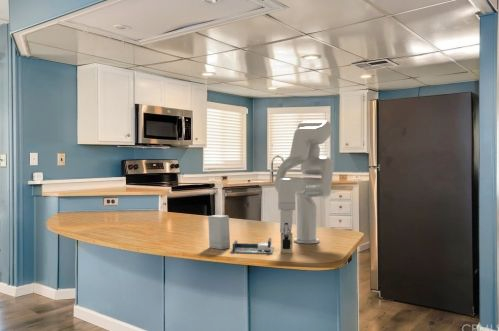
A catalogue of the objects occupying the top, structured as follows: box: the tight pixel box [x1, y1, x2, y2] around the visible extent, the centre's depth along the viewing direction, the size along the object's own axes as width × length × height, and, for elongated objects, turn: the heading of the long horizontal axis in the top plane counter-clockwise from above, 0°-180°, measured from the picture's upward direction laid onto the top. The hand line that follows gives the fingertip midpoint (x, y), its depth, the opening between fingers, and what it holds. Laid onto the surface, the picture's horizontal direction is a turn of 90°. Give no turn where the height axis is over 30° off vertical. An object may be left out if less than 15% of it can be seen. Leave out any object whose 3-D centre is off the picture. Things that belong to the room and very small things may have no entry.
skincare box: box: [207, 214, 231, 250], centre depth 195 cm, size 8×6×15 cm
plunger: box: [257, 237, 272, 252], centre depth 188 cm, size 9×6×4 cm, turn 173°
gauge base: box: [230, 240, 275, 255], centre depth 190 cm, size 12×18×4 cm, turn 83°
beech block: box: [280, 232, 293, 254], centre depth 188 cm, size 5×5×8 cm
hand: (286, 247), depth 188 cm, fingers closed on beech block, 5 cm apart
